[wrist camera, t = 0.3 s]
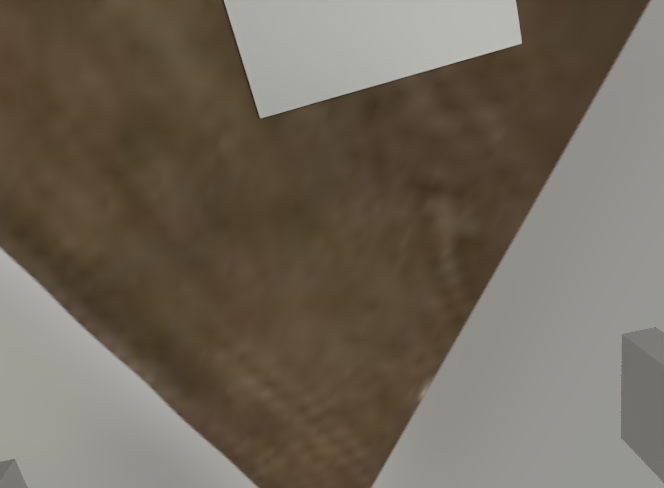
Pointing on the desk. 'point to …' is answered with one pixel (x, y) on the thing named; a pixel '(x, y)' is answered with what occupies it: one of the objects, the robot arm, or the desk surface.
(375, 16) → the mat
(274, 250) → the desk surface
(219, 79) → the desk surface
